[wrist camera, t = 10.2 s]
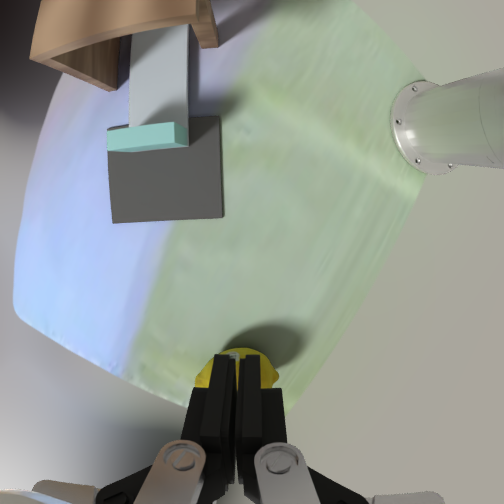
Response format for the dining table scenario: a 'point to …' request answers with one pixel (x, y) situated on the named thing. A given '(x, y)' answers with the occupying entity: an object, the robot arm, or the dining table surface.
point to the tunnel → (109, 32)
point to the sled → (156, 92)
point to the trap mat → (169, 178)
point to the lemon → (267, 370)
